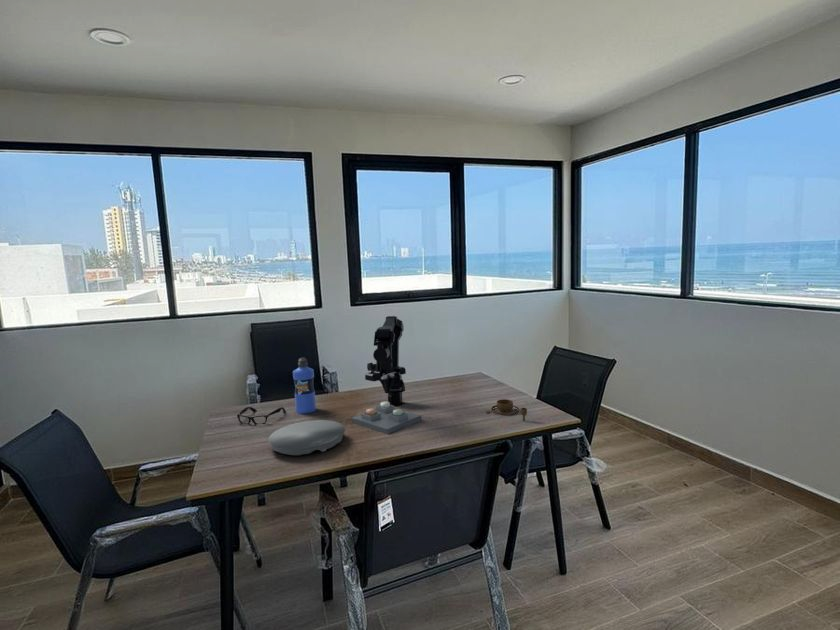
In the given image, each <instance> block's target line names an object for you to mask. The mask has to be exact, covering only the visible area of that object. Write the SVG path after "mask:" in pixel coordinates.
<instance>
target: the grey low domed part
mask: <svg viewBox="0 0 840 630" xmlns="http://www.w3.org/2000/svg"><path fill="white" fill-rule="evenodd" d="M345 432H346V428H345V425H343V424H342V423H340V422H337V421H334V420H327V419H326V420H325V419H323V420H322V419H316V420H315V419H313V420H305V421H301V422H296V423H291V424H288V425H285V426H283V427H281V428H278V429H277V430H275V431H273V432H272V433H271V434H270V435H269V437H268V443H269V444H270V445H271V447H272V450H273V451H275V452H278V453H280V454H283V455H288V456H302V455H309V454H311V453H312V452H315V451H317V450H318V451H320V452H322V453H323V452H326V451H327V449H328V450H329V449H331V448H333V447H334V446H336V445H337V444H339V443H341V441H342V439H343V437H344V436H343V435H344V433H345Z"/></svg>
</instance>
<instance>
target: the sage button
mask: <svg viewBox="0 0 840 630" xmlns="http://www.w3.org/2000/svg"><path fill="white" fill-rule="evenodd" d="M403 410H404V409H402V408H401V409H400V408H396V409H395V410H393V416H396V417H399V416H401V415H403Z"/></svg>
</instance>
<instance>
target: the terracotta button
mask: <svg viewBox="0 0 840 630" xmlns="http://www.w3.org/2000/svg"><path fill="white" fill-rule="evenodd" d="M365 412H366V415H369V416H372V415H375V414H376V408H374V407H371V408H367V409H366V410H365Z"/></svg>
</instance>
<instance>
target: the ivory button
mask: <svg viewBox="0 0 840 630" xmlns="http://www.w3.org/2000/svg"><path fill="white" fill-rule="evenodd" d="M380 405H381V408H384V409H386V408H388V407H390V402H388V401H381V402H380Z"/></svg>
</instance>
